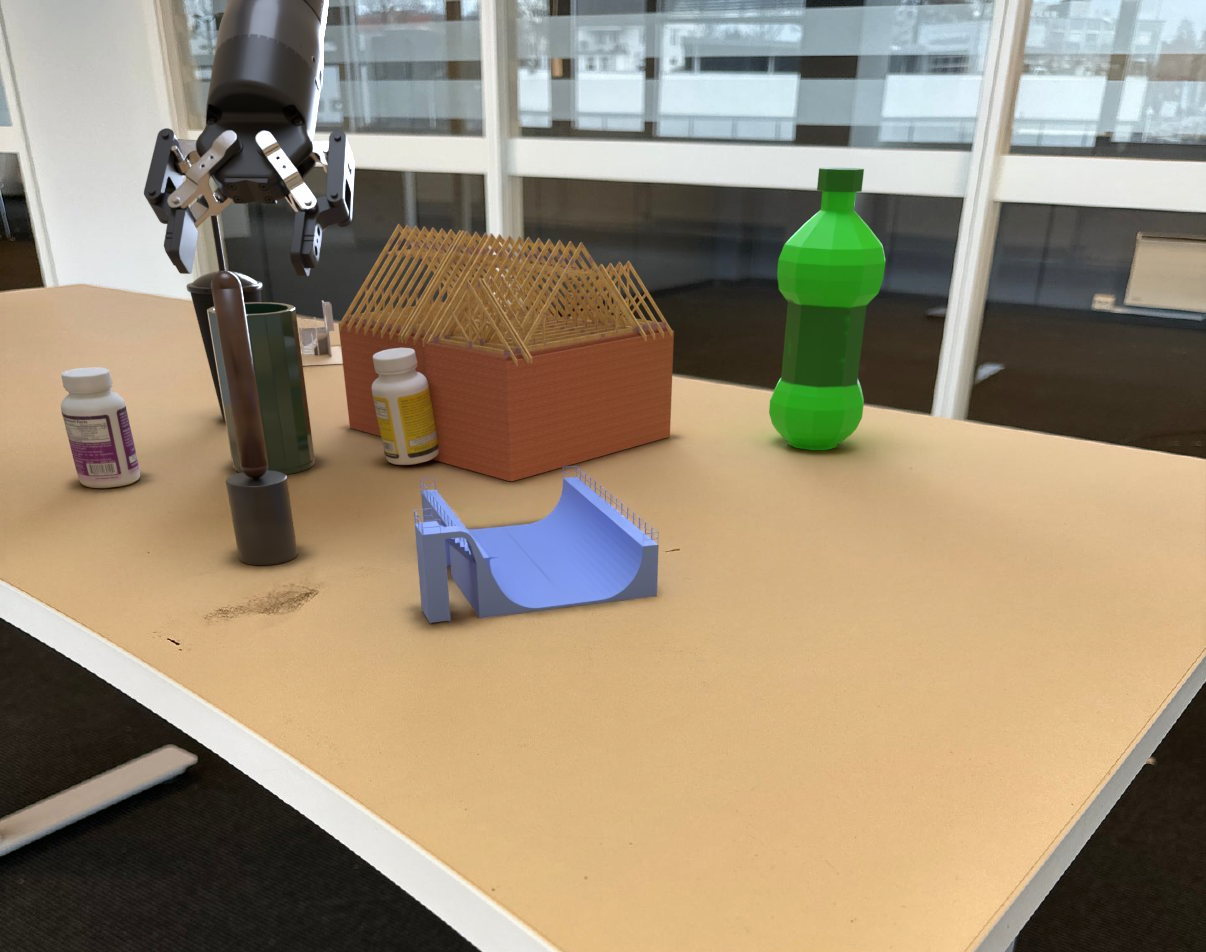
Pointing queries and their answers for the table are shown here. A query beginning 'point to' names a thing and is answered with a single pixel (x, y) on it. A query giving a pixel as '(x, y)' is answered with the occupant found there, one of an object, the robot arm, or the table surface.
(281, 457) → the green utensil holder
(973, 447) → the table surface
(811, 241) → the plastic bottle
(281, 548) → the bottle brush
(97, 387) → the pill bottle
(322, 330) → the architectural model
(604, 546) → the half pipe
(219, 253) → the drinking cup
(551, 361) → the house
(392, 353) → the supplement bottle
